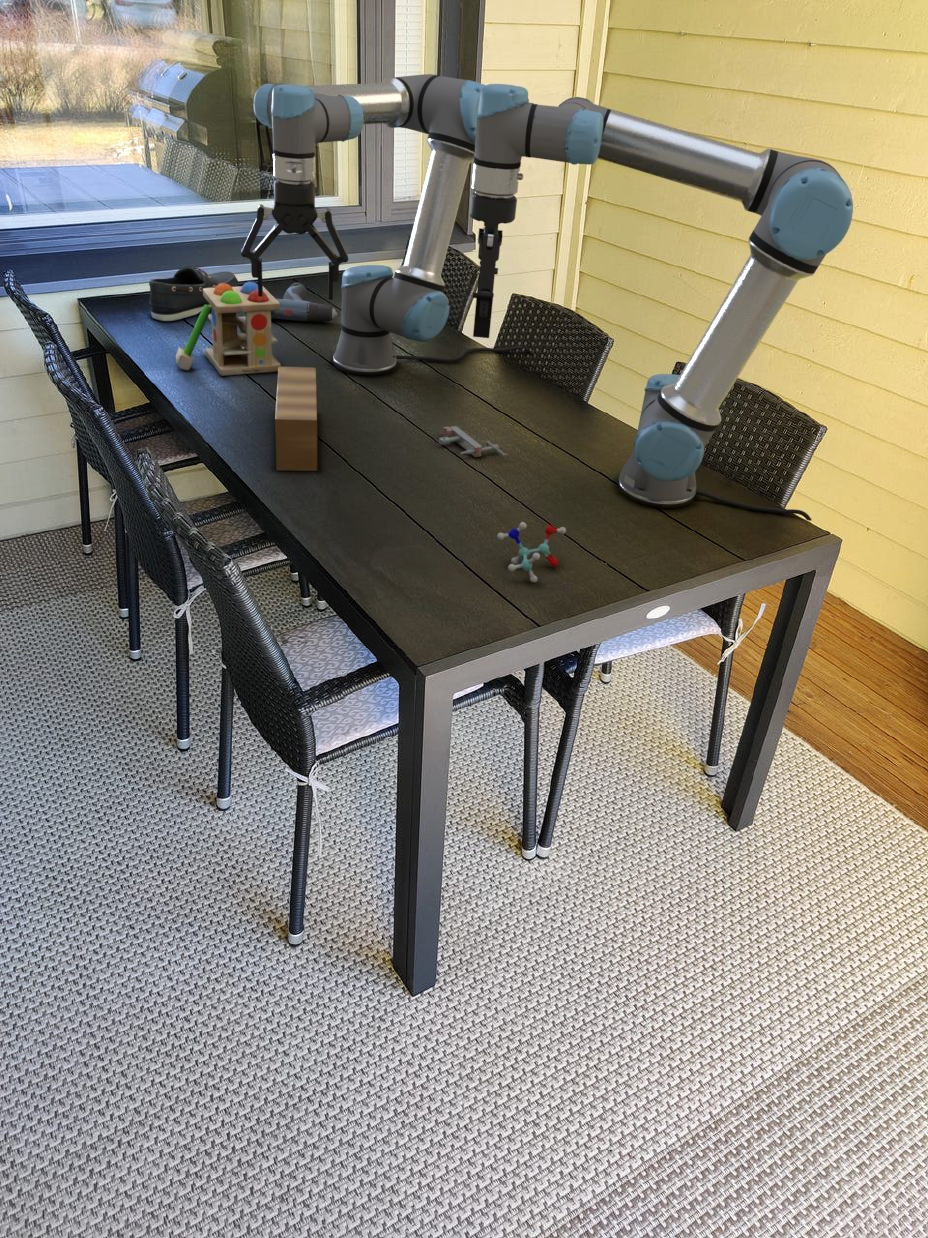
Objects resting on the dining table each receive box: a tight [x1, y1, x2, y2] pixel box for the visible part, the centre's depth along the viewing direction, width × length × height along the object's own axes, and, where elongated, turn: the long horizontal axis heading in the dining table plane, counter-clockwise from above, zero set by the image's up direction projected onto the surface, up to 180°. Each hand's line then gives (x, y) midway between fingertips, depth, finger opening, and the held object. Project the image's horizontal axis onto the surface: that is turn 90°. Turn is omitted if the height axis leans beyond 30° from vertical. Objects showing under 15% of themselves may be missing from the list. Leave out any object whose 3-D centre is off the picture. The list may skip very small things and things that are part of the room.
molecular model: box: [496, 521, 567, 583], centre depth 163 cm, size 12×10×10 cm
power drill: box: [271, 282, 338, 322], centre depth 265 cm, size 5×19×20 cm
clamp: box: [438, 425, 508, 459], centre depth 202 cm, size 15×2×10 cm
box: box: [274, 366, 318, 472], centre depth 196 cm, size 27×8×10 cm, turn 8°
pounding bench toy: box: [174, 281, 282, 377], centre depth 225 cm, size 23×14×18 cm, turn 116°
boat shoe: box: [148, 265, 240, 322], centre depth 262 cm, size 13×33×10 cm, turn 147°
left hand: (295, 296), depth 193 cm, fingers open, 13 cm apart
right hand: (482, 324), depth 170 cm, fingers open, 13 cm apart
